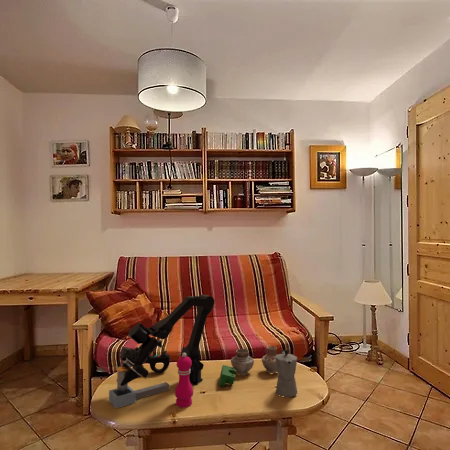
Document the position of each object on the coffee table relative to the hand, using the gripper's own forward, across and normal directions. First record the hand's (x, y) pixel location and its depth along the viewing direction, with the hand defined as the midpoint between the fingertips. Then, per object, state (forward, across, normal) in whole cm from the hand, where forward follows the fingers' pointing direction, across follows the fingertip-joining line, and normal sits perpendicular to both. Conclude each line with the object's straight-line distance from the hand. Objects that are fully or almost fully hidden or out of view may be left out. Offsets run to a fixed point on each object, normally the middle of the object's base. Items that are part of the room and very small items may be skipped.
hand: (119, 383), depth 141 cm
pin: (+4, 0, +6) cm, 7 cm away
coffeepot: (-37, +32, +49) cm, 69 cm away
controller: (-12, -19, +24) cm, 33 cm away
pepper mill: (-9, +16, +20) cm, 27 cm away
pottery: (-40, +9, +51) cm, 66 cm away
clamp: (-27, +10, +38) cm, 48 cm away
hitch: (-1, 0, +12) cm, 12 cm away
